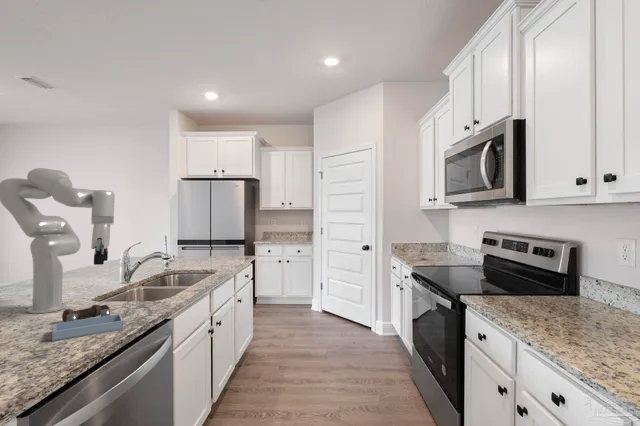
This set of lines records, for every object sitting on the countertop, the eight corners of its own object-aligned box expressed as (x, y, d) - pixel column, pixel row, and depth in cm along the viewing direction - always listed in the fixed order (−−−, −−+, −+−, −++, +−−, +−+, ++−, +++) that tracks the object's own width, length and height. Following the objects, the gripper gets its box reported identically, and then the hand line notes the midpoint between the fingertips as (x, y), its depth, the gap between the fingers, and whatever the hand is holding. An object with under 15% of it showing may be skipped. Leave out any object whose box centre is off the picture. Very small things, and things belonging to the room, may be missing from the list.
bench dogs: (66, 327, 114) (67, 314, 114) (110, 320, 122) (110, 308, 122) (66, 329, 112) (66, 316, 112) (110, 322, 120) (110, 310, 120)
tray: (54, 332, 109) (54, 323, 109) (120, 321, 121) (120, 313, 121) (52, 341, 101) (52, 332, 101) (123, 329, 113) (123, 320, 113)
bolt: (108, 317, 131) (66, 327, 117) (101, 310, 133) (60, 319, 119) (113, 306, 130) (71, 315, 116) (106, 298, 132) (65, 306, 118)
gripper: (95, 219, 136) (93, 259, 136) (86, 221, 120) (85, 266, 120) (116, 220, 139) (114, 259, 139) (110, 221, 124) (108, 265, 124)
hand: (100, 262), depth 130 cm, fingers open, 9 cm apart
